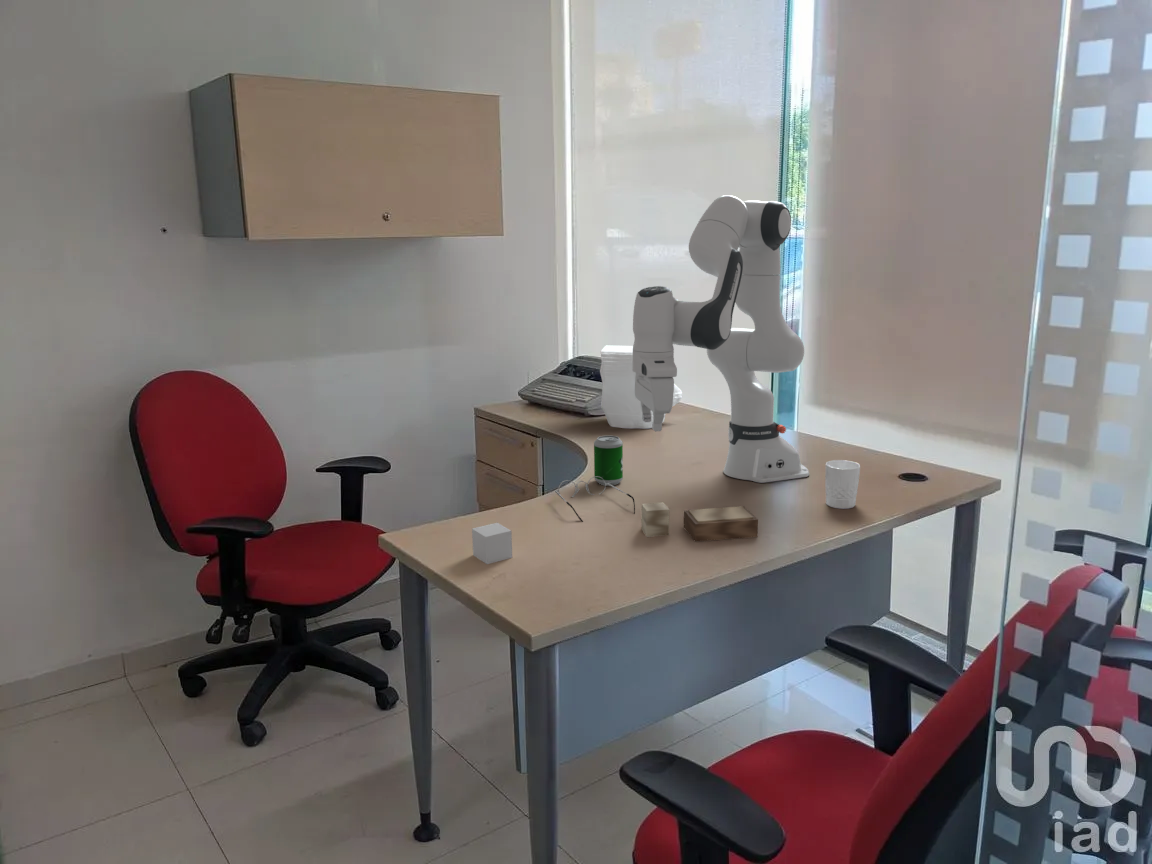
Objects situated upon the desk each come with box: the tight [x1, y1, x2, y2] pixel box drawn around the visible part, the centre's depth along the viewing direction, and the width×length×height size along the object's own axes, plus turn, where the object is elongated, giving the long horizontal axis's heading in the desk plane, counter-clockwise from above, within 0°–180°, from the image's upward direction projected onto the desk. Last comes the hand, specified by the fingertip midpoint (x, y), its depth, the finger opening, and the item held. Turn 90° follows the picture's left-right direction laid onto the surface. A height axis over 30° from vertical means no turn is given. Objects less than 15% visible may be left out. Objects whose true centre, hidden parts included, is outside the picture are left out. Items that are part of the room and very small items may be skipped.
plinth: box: [683, 505, 759, 543], centre depth 188 cm, size 14×9×4 cm, turn 99°
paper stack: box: [599, 344, 683, 430], centre depth 283 cm, size 21×27×26 cm
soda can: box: [593, 435, 624, 487], centre depth 224 cm, size 8×8×12 cm
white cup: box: [824, 459, 861, 510], centre depth 204 cm, size 8×8×10 cm
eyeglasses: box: [554, 476, 636, 523], centre depth 206 cm, size 16×19×5 cm
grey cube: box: [471, 522, 513, 565], centre depth 176 cm, size 6×6×6 cm
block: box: [640, 501, 670, 538], centre depth 188 cm, size 5×5×6 cm
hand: (651, 426), depth 187 cm, fingers open, 8 cm apart
